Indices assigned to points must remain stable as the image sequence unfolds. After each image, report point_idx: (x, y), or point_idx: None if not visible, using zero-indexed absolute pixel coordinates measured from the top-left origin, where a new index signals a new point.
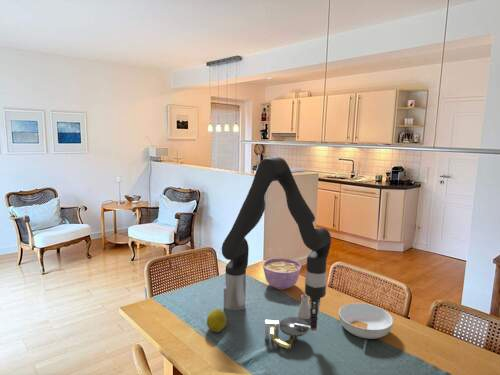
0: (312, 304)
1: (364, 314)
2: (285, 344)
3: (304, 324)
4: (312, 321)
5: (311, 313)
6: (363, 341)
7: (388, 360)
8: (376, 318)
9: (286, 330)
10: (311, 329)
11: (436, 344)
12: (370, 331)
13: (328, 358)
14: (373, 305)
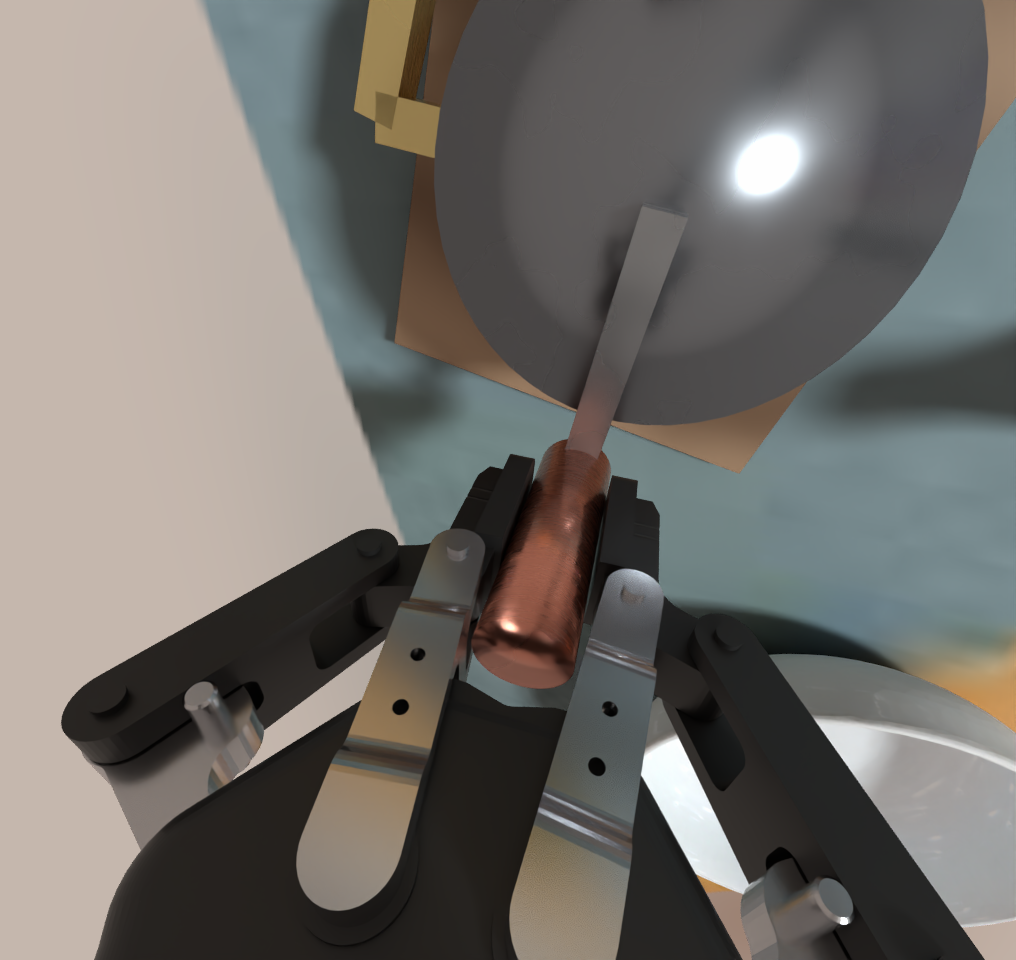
0: (144, 847)
1: (957, 810)
2: (363, 63)
3: (677, 375)
4: (452, 527)
5: (180, 647)
6: None
7: (518, 692)
8: None
9: (481, 52)
10: (557, 443)
11: None
12: None
13: (474, 457)
14: (969, 925)
